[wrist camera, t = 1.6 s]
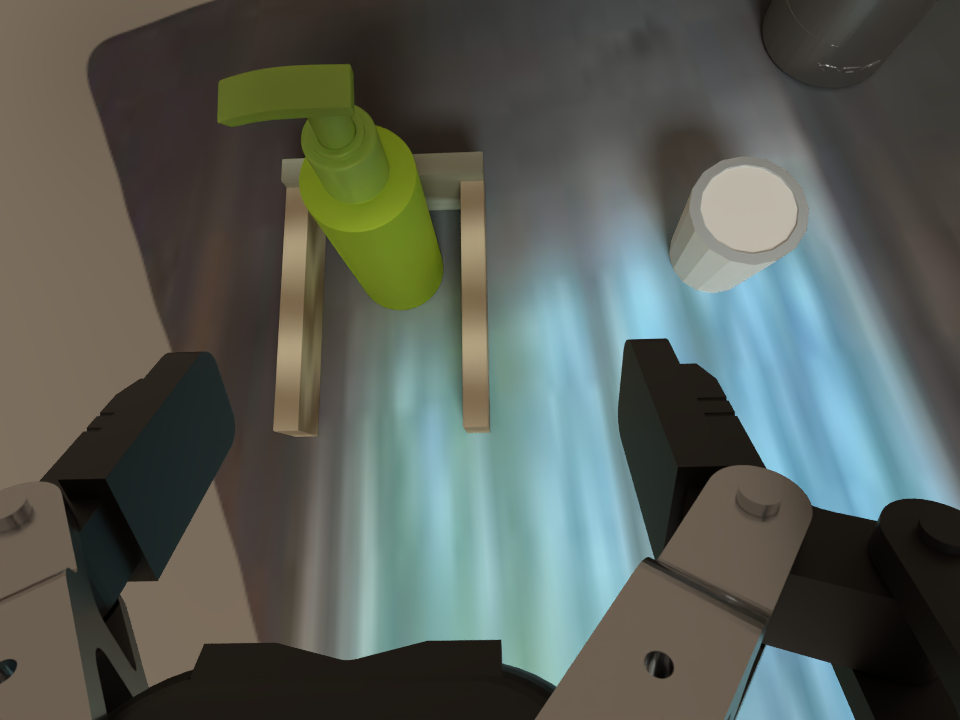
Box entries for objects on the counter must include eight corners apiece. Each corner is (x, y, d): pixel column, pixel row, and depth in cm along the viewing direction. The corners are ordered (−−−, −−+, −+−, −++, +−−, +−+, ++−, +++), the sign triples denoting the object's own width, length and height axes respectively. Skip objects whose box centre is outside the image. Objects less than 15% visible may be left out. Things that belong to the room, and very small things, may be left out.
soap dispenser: (345, 235, 43) (213, 27, 24) (441, 228, 43) (387, 12, 24) (346, 314, 42) (209, 162, 23) (445, 307, 42) (392, 147, 22)
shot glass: (773, 228, 42) (825, 178, 35) (742, 316, 41) (789, 281, 34) (678, 195, 43) (711, 139, 36) (646, 280, 42) (673, 239, 35)
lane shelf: (307, 195, 44) (282, 159, 39) (485, 189, 44) (482, 151, 39) (295, 436, 41) (266, 429, 36) (490, 432, 40) (487, 424, 35)
